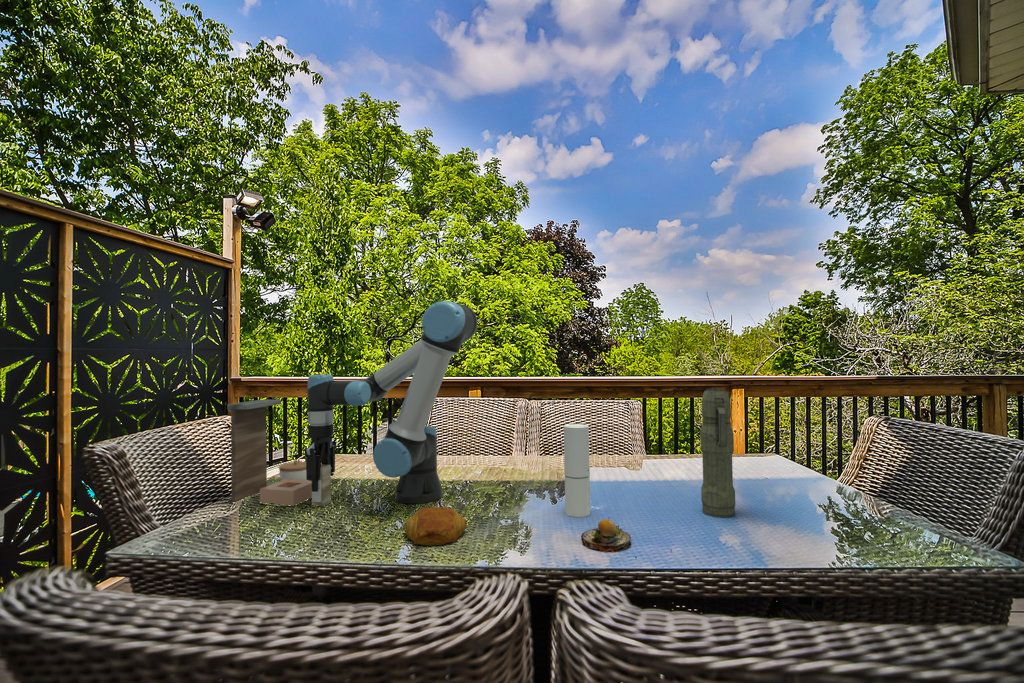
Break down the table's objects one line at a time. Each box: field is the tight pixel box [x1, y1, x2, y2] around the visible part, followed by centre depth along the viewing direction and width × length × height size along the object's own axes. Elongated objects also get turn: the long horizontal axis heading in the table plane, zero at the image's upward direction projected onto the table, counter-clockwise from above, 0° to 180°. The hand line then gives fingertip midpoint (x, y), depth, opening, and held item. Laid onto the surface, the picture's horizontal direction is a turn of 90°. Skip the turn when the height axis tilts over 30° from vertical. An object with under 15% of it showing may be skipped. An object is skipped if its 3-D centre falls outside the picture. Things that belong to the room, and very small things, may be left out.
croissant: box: [404, 506, 468, 546], centre depth 129 cm, size 14×16×8 cm
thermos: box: [699, 388, 736, 518], centre depth 145 cm, size 9×12×35 cm
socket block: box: [259, 479, 312, 506], centre depth 163 cm, size 12×12×5 cm
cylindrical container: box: [563, 423, 591, 518], centre depth 146 cm, size 7×7×25 cm
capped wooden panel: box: [226, 399, 282, 503], centre depth 166 cm, size 7×16×32 cm, turn 167°
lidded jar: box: [278, 459, 309, 481], centre depth 180 cm, size 11×11×9 cm
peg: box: [311, 464, 332, 507], centre depth 158 cm, size 4×4×12 cm
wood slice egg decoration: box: [580, 518, 632, 553], centre depth 123 cm, size 12×12×8 cm
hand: (321, 499), depth 158 cm, fingers closed on peg, 4 cm apart
